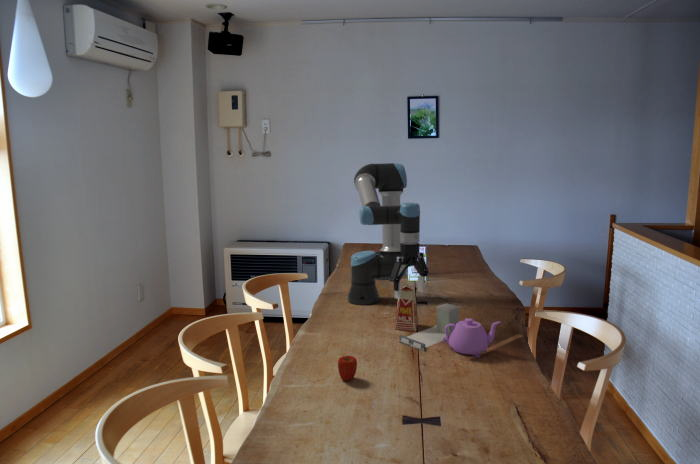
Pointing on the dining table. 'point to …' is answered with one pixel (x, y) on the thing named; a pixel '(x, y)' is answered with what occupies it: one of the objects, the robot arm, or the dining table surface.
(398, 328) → the milk carton
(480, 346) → the teapot
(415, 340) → the grey angled plate
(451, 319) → the grey rectangular block
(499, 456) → the dining table surface
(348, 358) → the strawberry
